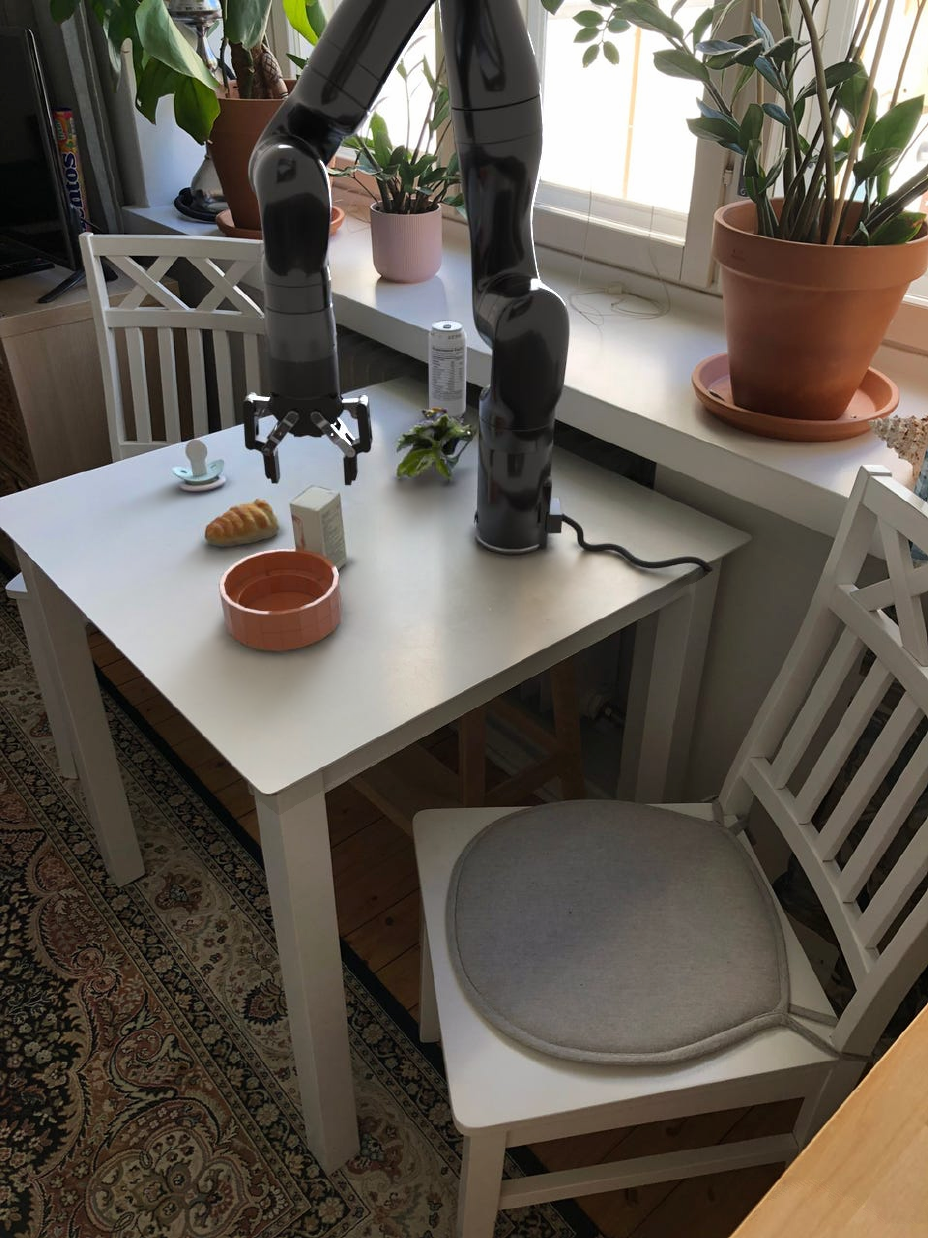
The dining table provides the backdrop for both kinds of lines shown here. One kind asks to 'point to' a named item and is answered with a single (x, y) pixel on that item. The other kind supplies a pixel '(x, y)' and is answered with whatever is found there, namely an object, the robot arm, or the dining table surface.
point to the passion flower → (434, 443)
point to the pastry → (243, 525)
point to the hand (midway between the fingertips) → (312, 481)
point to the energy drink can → (447, 367)
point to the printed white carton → (319, 524)
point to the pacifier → (199, 469)
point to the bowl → (281, 599)
